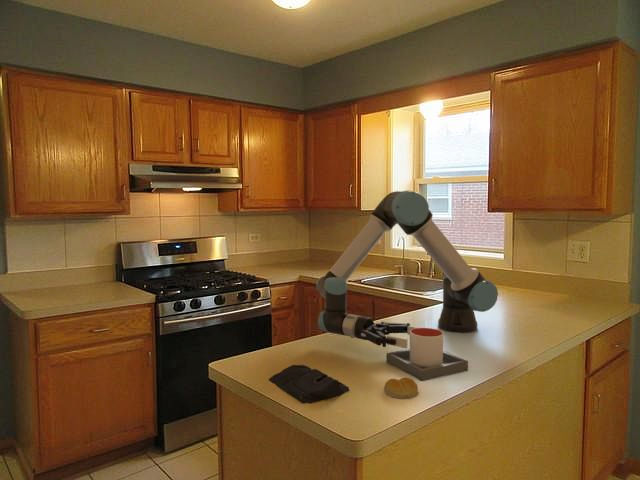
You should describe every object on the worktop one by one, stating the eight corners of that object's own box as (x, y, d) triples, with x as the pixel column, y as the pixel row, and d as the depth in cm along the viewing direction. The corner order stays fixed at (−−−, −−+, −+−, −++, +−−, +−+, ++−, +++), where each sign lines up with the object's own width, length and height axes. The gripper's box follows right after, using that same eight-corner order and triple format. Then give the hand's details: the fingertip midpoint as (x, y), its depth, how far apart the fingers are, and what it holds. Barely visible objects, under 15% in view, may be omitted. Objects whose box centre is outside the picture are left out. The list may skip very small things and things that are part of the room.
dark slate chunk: (308, 370, 146) (308, 355, 145) (353, 394, 128) (354, 377, 127) (264, 381, 137) (264, 365, 136) (306, 408, 119) (306, 390, 118)
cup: (449, 367, 144) (450, 334, 143) (421, 371, 140) (422, 338, 139) (430, 356, 153) (430, 326, 152) (403, 360, 149) (403, 329, 148)
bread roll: (380, 388, 130) (380, 374, 130) (412, 386, 131) (412, 372, 131) (388, 401, 122) (388, 386, 122) (422, 399, 123) (422, 384, 123)
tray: (429, 353, 158) (429, 345, 158) (467, 370, 143) (468, 361, 142) (386, 362, 150) (386, 353, 150) (421, 381, 135) (422, 370, 135)
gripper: (377, 329, 170) (433, 340, 158) (337, 347, 151) (397, 361, 138) (378, 309, 170) (433, 318, 157) (337, 324, 150) (397, 335, 137)
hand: (417, 338), depth 147 cm, fingers open, 13 cm apart
